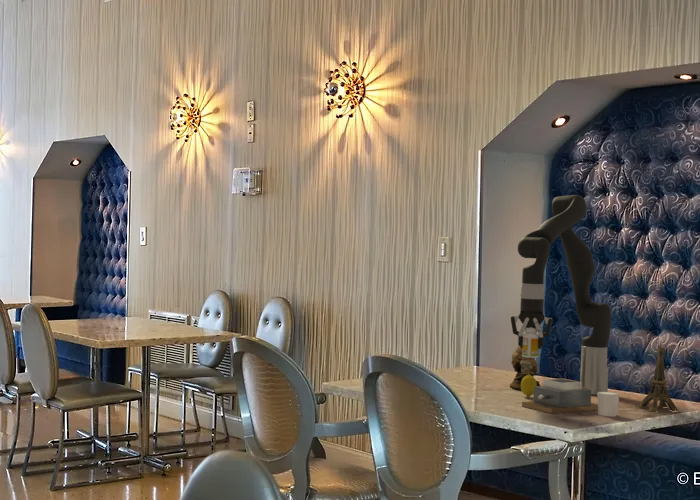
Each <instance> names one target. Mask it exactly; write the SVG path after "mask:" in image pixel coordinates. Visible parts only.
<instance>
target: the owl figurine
mask: <svg viewBox="0 0 700 500" xmlns="http://www.w3.org/2000/svg"><path fill="white" fill-rule="evenodd" d="M511 365H512V368H513V370H514V372H516V374H515V377H514V378H513V381H512V382H510V384H509V388H510V389H511V388H512V389H511V390H514V391H520V392H522V391H521V381H522V379H523V378H524V377H525V376H527V375H531V376H533V377H534V376H537V373H538V362H537V360H536V358H527V357H523V356H522V348H520V346H519V345H518V346H517V347H516V349H515V351H514V352H513V353H512V355H511ZM536 383H537V386H542V385H541V384H540V381H538V380H536Z"/></svg>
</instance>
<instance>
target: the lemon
mask: <svg viewBox="0 0 700 500" xmlns="http://www.w3.org/2000/svg"><path fill="white" fill-rule="evenodd" d="M536 381H537V379H536V378H535V377H534V376H531V375H527V376H525V377H524V378H523V379H522V381H521V391H520V392H522V394H523V395H524V396H526V397H527V398H530V397H531V396H532V395H533V396H534V387H537V383H536Z"/></svg>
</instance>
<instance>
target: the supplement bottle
mask: <svg viewBox="0 0 700 500" xmlns="http://www.w3.org/2000/svg"><path fill="white" fill-rule="evenodd" d="M524 332H525V333H523V343H522V356H523V357H527V358H535V359H537V358H538V357H539V352H540V351H539V350H540V349H539V337H540V336H539V334H537V333H538V331H537V329H536V328H532V327H530V328H525V330H524Z"/></svg>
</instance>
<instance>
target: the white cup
mask: <svg viewBox="0 0 700 500" xmlns="http://www.w3.org/2000/svg"><path fill="white" fill-rule="evenodd" d="M620 394H621V393H618V392H614V391H613V392H612V391H608V392H597V395H596V396H597V404H598V410H597V411H598V413H597V414H598V416H602V415H603V417H617V416H618V415H617V414H618V407H619V400H620ZM616 415H617V416H616Z"/></svg>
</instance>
